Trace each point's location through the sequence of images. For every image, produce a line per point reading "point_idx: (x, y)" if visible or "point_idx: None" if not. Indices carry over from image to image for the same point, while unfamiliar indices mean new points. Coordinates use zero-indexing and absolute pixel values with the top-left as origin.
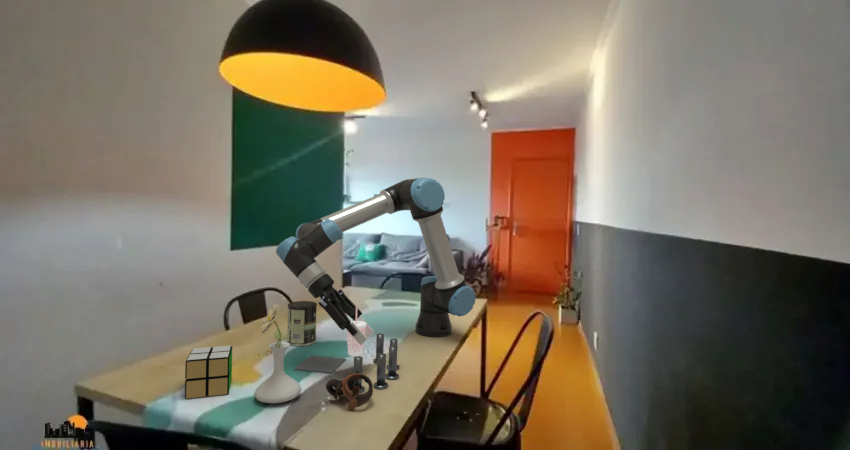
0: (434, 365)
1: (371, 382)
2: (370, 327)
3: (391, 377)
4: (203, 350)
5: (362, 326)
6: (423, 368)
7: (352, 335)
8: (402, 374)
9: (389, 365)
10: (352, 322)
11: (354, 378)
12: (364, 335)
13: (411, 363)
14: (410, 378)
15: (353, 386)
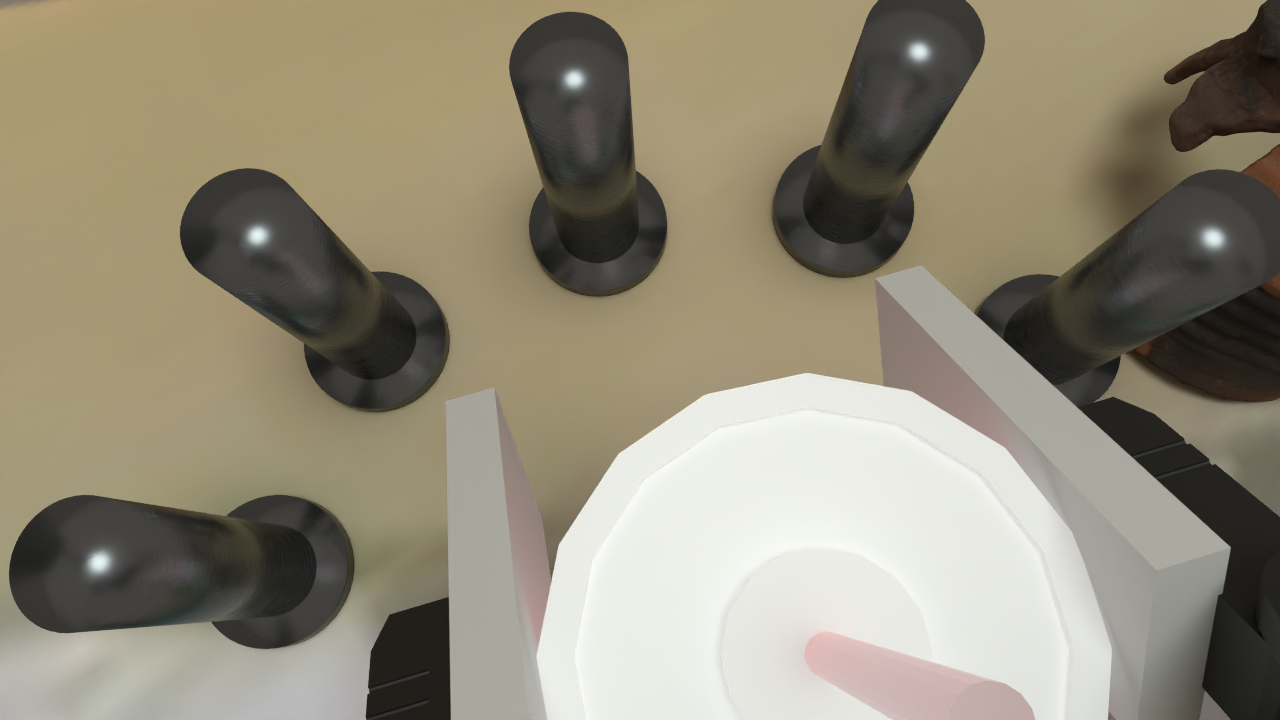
0: (121, 36)
1: (1269, 8)
2: (450, 473)
3: (649, 202)
4: None
5: (891, 390)
6: (243, 89)
7: None
8: (481, 185)
9: (632, 189)
10: (1207, 545)
11: None
12: (933, 310)
13: (165, 247)
14: None
15: None
